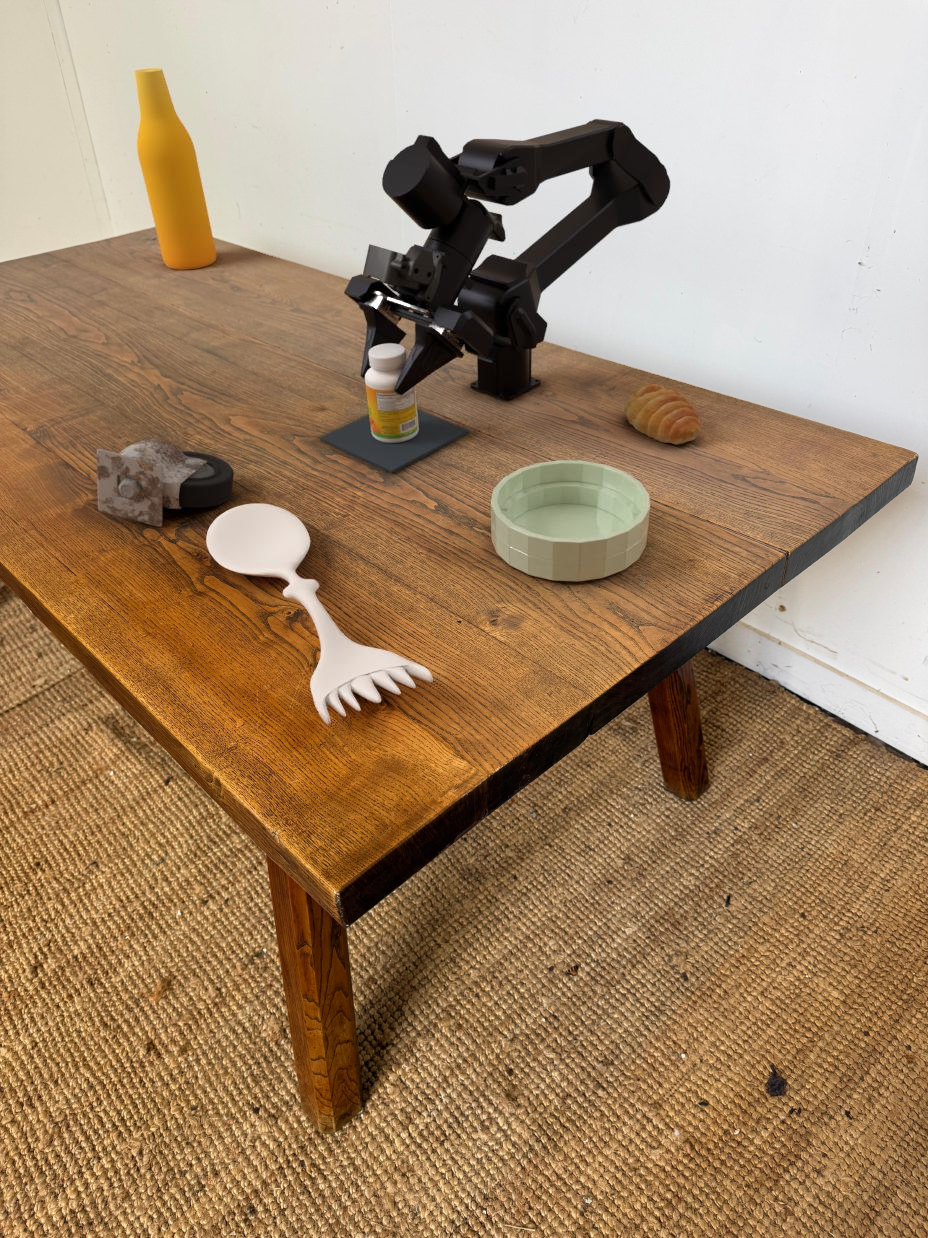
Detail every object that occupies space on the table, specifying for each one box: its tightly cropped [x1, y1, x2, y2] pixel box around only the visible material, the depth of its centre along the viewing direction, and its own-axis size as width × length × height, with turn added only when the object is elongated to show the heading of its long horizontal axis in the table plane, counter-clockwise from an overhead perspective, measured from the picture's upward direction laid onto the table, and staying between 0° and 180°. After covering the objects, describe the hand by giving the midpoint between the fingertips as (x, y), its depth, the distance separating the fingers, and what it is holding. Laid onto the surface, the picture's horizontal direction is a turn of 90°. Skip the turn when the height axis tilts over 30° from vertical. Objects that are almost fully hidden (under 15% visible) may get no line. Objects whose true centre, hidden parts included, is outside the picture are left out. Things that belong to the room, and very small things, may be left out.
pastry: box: [624, 383, 703, 446], centre depth 98 cm, size 9×7×4 cm
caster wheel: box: [96, 438, 235, 528], centre depth 89 cm, size 7×11×10 cm
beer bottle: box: [134, 67, 217, 271], centre depth 146 cm, size 9×9×29 cm
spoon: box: [205, 503, 434, 726], centre depth 74 cm, size 9×32×4 cm, turn 30°
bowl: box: [490, 459, 651, 582], centre depth 81 cm, size 14×14×4 cm
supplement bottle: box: [364, 343, 419, 443], centre depth 97 cm, size 5×5×10 cm
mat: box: [319, 409, 470, 474], centre depth 100 cm, size 12×12×1 cm
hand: (380, 385), depth 95 cm, fingers closed on supplement bottle, 5 cm apart
